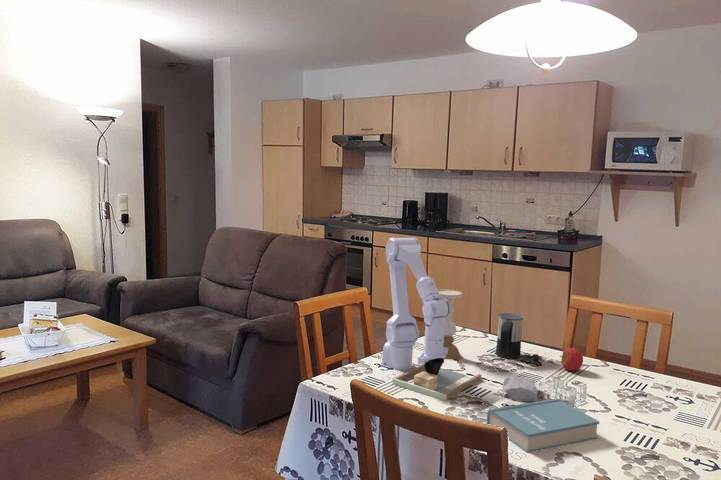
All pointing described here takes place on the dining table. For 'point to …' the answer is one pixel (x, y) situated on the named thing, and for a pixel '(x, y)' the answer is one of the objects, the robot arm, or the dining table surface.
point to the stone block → (520, 389)
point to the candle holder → (450, 324)
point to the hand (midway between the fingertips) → (431, 381)
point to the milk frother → (511, 337)
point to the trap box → (443, 380)
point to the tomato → (572, 359)
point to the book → (543, 424)
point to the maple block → (426, 380)
